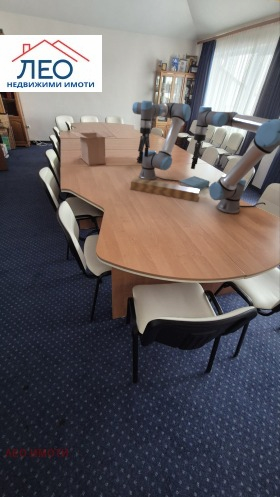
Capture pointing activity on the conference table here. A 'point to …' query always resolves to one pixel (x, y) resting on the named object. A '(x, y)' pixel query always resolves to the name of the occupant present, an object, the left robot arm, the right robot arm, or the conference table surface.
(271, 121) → the right robot arm
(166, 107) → the left robot arm
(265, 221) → the conference table surface
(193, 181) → the book
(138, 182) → the wide beam
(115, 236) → the conference table surface
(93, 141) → the box
